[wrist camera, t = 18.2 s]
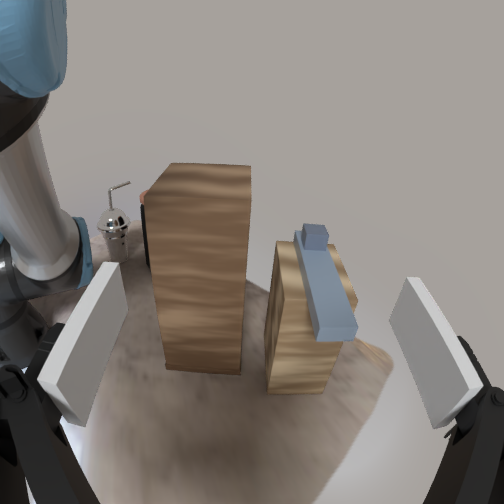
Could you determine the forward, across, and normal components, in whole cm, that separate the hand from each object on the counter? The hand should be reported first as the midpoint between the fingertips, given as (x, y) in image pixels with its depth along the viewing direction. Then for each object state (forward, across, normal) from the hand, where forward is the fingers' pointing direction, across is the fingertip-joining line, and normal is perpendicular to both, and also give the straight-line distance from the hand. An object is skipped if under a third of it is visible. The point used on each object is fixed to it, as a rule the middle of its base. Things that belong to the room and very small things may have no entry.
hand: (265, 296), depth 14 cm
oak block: (+24, +9, -34) cm, 42 cm away
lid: (+20, +9, -14) cm, 26 cm away
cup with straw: (+53, -32, -34) cm, 70 cm away
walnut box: (+28, -6, -34) cm, 44 cm away
